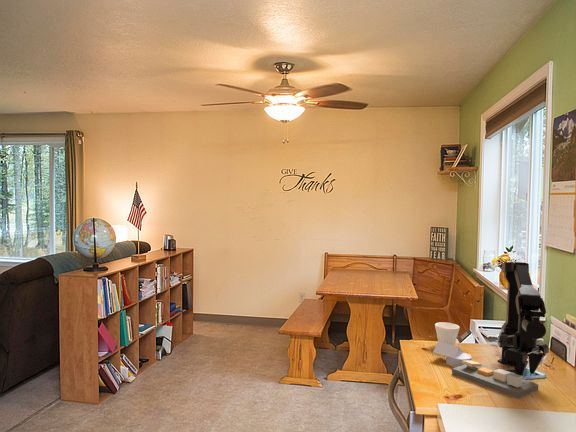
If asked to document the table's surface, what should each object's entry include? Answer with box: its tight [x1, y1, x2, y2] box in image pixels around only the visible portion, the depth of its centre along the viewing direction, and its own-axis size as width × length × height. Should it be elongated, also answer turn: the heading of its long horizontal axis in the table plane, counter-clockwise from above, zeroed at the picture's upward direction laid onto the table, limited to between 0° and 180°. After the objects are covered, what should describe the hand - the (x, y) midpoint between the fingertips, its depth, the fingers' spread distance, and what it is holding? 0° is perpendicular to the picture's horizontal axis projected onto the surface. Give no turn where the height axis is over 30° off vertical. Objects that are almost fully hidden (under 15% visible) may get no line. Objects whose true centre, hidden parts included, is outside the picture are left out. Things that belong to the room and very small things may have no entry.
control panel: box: [451, 364, 539, 400], centre depth 159 cm, size 13×24×3 cm, turn 36°
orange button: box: [477, 367, 494, 377], centre depth 162 cm, size 4×4×2 cm
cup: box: [434, 321, 460, 346], centre depth 196 cm, size 10×10×9 cm
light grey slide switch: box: [507, 372, 524, 388], centre depth 151 cm, size 3×4×3 cm
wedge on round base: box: [432, 341, 472, 368], centre depth 177 cm, size 9×7×13 cm
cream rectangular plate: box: [462, 359, 482, 367], centre depth 166 cm, size 6×4×1 cm, turn 126°
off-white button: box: [493, 368, 512, 382], centre depth 157 cm, size 4×4×2 cm
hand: (525, 376), depth 155 cm, fingers open, 8 cm apart
